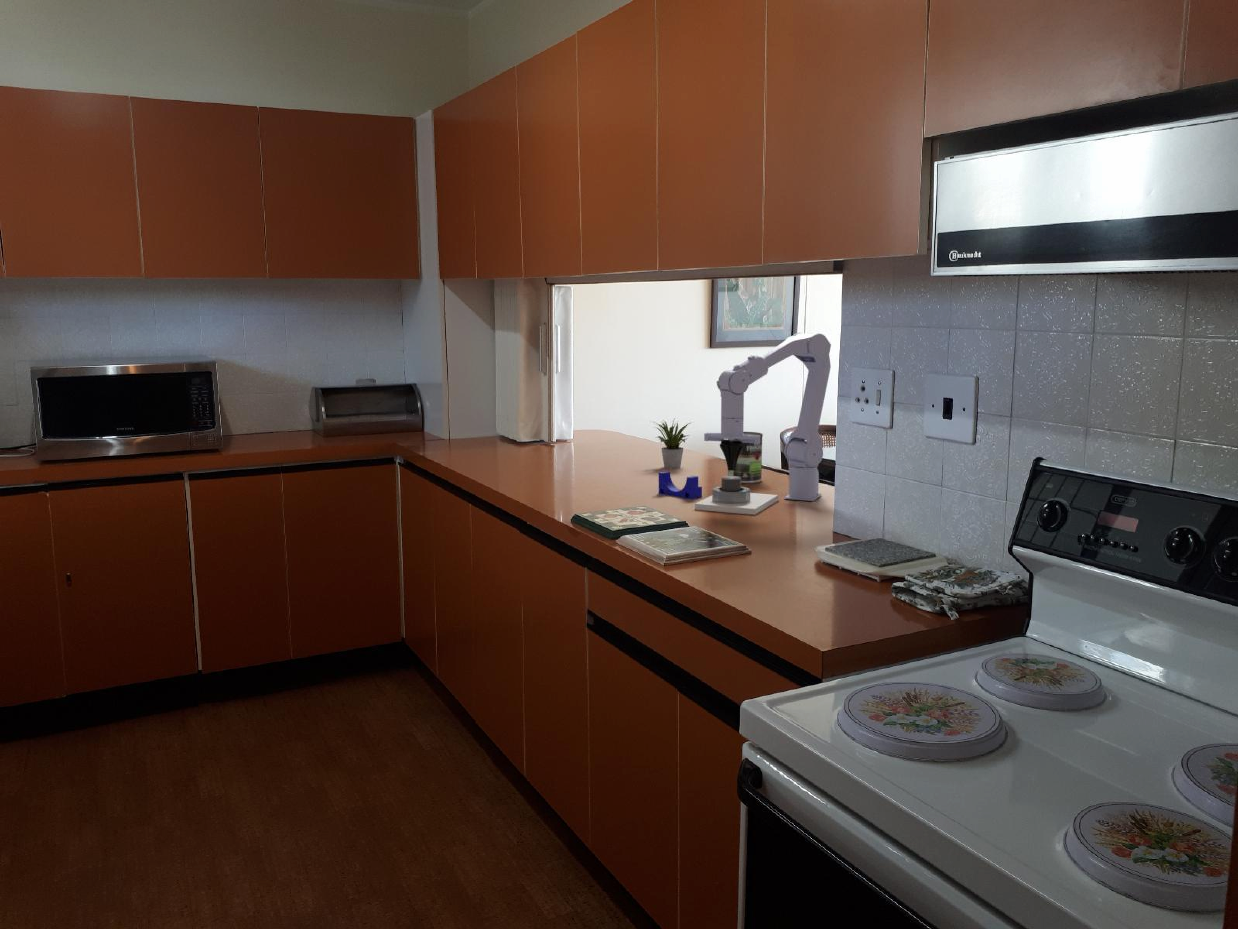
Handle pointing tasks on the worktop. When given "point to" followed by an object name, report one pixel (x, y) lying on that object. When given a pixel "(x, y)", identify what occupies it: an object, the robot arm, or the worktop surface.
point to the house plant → (672, 445)
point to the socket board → (739, 508)
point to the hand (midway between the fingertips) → (731, 469)
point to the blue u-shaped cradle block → (689, 490)
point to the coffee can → (749, 461)
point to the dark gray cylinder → (731, 483)
